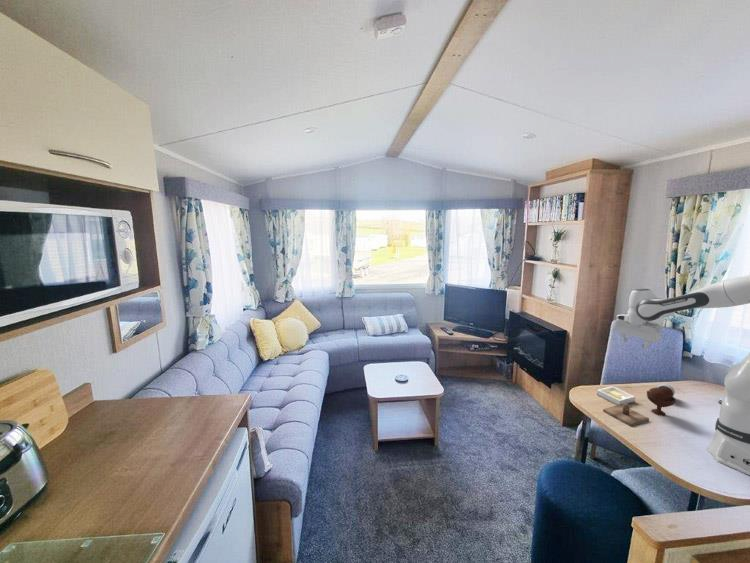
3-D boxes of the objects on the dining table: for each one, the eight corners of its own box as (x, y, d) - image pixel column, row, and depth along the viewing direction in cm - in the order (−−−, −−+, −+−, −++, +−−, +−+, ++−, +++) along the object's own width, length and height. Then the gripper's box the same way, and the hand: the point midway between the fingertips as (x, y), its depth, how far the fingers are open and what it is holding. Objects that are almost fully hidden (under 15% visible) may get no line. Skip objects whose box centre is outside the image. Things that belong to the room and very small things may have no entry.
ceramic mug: (674, 397, 169) (676, 384, 168) (672, 403, 164) (673, 389, 163) (649, 390, 177) (650, 378, 176) (646, 395, 172) (647, 383, 171)
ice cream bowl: (660, 406, 161) (664, 380, 158) (679, 419, 150) (683, 391, 148) (639, 406, 162) (642, 380, 160) (655, 419, 151) (659, 391, 149)
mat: (648, 420, 150) (648, 419, 150) (630, 426, 146) (630, 425, 146) (620, 406, 162) (620, 405, 162) (603, 411, 159) (603, 410, 158)
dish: (634, 401, 166) (635, 396, 166) (619, 405, 163) (619, 400, 162) (611, 390, 178) (612, 386, 177) (596, 394, 174) (597, 389, 174)
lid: (648, 419, 150) (650, 408, 149) (630, 425, 146) (631, 414, 145) (620, 405, 162) (622, 395, 161) (603, 410, 158) (604, 400, 157)
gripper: (665, 324, 149) (662, 350, 152) (621, 313, 169) (618, 337, 171) (657, 325, 148) (653, 352, 150) (613, 314, 167) (610, 338, 169)
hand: (634, 344), depth 161 cm, fingers open, 8 cm apart
